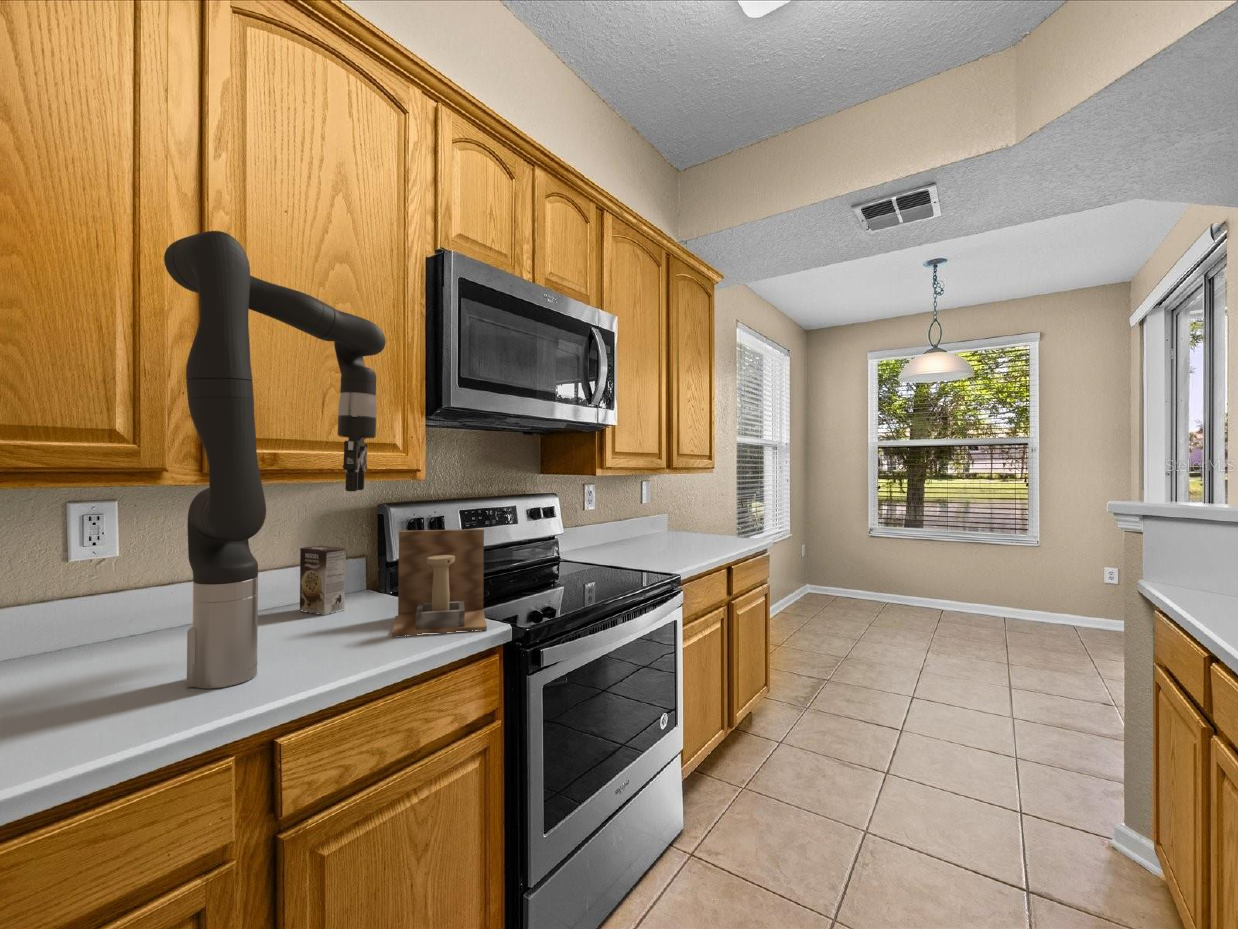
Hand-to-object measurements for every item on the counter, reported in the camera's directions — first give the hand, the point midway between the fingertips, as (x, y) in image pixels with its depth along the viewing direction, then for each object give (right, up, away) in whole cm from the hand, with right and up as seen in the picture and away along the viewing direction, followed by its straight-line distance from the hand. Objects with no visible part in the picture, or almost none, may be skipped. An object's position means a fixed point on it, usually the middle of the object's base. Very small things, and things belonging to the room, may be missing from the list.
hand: (354, 490), depth 122 cm
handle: (+16, -31, +8) cm, 36 cm away
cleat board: (+15, -32, +12) cm, 37 cm away
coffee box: (-18, -32, +21) cm, 42 cm away
